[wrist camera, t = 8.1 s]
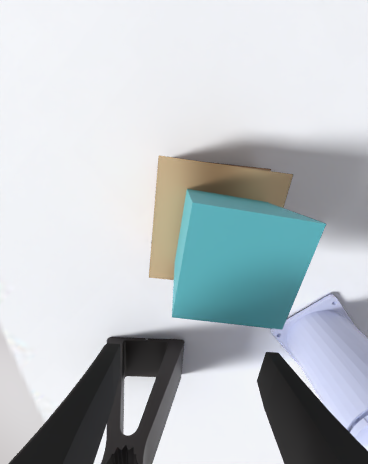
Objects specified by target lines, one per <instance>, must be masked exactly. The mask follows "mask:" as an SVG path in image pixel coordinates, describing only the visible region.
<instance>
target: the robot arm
mask: <svg viewBox="0 0 368 464" xmlns="http://www.w3.org/2000/svg"><path fill="white" fill-rule="evenodd" d="M271 333H272V334H273V336H274V337H275V338H276V339H277V340H278V341H279V342H280V344H281V345H282V346H283V347H284V348H285V349H286V351H287V352H288V353H289V354H290V355H291V356H292V357H293V359H294V360H295V361H296V362H297V363H298V364H299V365H300V367H301V368H302V370H303V372H304V373H305V375H306V377H307V378H308V380H309V382H310V383H311V385H312V387H313V388H314V390H315V391H316V393H317V395H318V396H319V398H320V400H321V401H322V402H321V401H320V400H319V399H318V398H317V397H316V396H315V395H314V393H313V392H312V391H311V390H310V389H309V388H308V387H307V386H306V384H305V383H304V382H303V381H302V380H301V379H300V377H299V376H298V375H297V374H296V373H295V372H294V371H293V369H292V368H291V367H290V366H289V365H288V364H287V362H286V361H285V360H284V359H283V358H282V357H281V356H280V354H279V353H274V352H266V354H265V357H264V360H263V364H262V367H261V370H260V373H259V376H258V379H257V383H258V387H259V391H260V395H261V398H262V402H263V405H264V409H265V412H266V414H267V417H268V420H269V423H270V426H271V428H272V431H273V434H274V437H275V439H276V442H277V445H278V447H279V450H280V453H281V456H282V458H283V461H284V464H368V338H367V337H366V336H365V335H364V334H363V333H362V332H361V331H360V330H359V329H357V328H356V326H355V325H354V323H353V322H352V320H351V319H350V317H349V316H348V314H347V313H346V311H345V310H344V308H343V306H342V305H341V303H340V302H339V300H338V299H337V297H335V296H334V295H332V294H330V295H328V296H326V297H324V298H323V299H321V300H319V301H318V302H316V303H314V304H312V305H311V306H309V307H307V308H306V309H304V310H302V311H301V312H299V313H297V314H295V315H294V316H292V317H290V318H289V319H287V320H286V322H285V324H284V327H283V329H282V330H281V329H271ZM119 378H120V344H111V343H107V344H106V345H105V346H104V347H103V349H102V350H101V352H100V353H99V354H98V356H97V357H96V359H95V360H94V362H93V363H92V364H91V366H90V367H89V369H88V370H87V371H86V373H85V374H84V375H83V377H82V378H81V379H80V380H79V382H78V383H77V384H76V386H75V387H74V388H73V389H72V391H71V392H70V393H69V395H68V396H67V397H66V398H65V400H64V401H63V402H62V403H61V404H60V406H59V407H58V408H57V409H56V410H55V412H54V413H53V414H52V415H51V416H50V418H49V419H48V420H47V421H46V422H45V424H44V425H43V426H42V427H41V428H40V429H39V430H38V432H37V433H36V434H35V435H34V436H33V437H32V438H31V440H30V441H29V442H28V443H27V444H26V445H25V446H24V447H23V449H22V450H21V451H20V452H19V453H18V454H17V455H16V456H15V457H14V458H13V460H11V462H10V463H9V464H93V463H94V460H95V457H96V454H97V451H98V448H99V445H100V442H101V439H102V436H103V433H104V430H105V427H106V424H107V421H108V418H109V415H110V412H111V409H112V406H113V402H114V399H115V395H116V391H117V387H118V382H119Z"/></svg>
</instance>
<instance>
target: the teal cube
mask: <svg viewBox="0 0 368 464" xmlns="http://www.w3.org/2000/svg"><path fill="white" fill-rule="evenodd" d="M325 226H326V224H325V223H322V222H320V221H317V220H314V219H312V218H309V217H306V216H303V215H301V214H298V213H295V212H292V211H290V210H287V209H284V208H282V207H279V206H276V205H273V204H271V203H268V202H264V201H258V200H252V199H246V198H240V197H234V196H228V195H222V194H216V193H210V192H204V191H198V190H192V189H187V191H186V197H185V203H184V209H183V215H182V221H181V227H180V233H179V239H178V245H177V251H176V257H175V265H174V286H173V308H172V317H174V318H183V319H192V320H201V321H210V322H219V323H228V324H236V325H245V326H254V327H263V328H272V329H281V330H282V329H283V327H284V324H285V322H286V319H287V317H288V315H289V312H290V310H291V307H292V305H293V303H294V300H295V298H296V295H297V293H298V291H299V288H300V286H301V283H302V281H303V279H304V276H305V274H306V271H307V269H308V267H309V264H310V262H311V259H312V257H313V255H314V252H315V250H316V247H317V245H318V243H319V240H320V238H321V235H322V233H323V231H324V228H325Z"/></svg>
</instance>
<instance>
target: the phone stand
mask: <svg viewBox="0 0 368 464" xmlns="http://www.w3.org/2000/svg"><path fill="white" fill-rule="evenodd" d="M107 343H111V344H120V378H119V382H118V387H117V391H116V395H115V399H114V402H113V406H112V409H111V412H110V415H109V418H108V421H107V440H106V448H105V452H104V456H103V460H102V463H101V464H152V463H153V460H154V457H155V454H156V451H157V448H158V445H159V442H160V439H161V436H162V433H163V430H164V427H165V424H166V421H167V418H168V415H169V412H170V409H171V406H172V403H173V400H174V397H175V394H176V391H177V388H178V385H179V382H180V379H181V371H182V361H183V350H184V341H183V340H179V339H150V338H148V339H147V340H146V339H145V338H122V337H110V338H108V339H107ZM126 376H145V377H156V380H155V383H154V385H153V388H152V391H151V394H150V397H149V399H148V402H147V405H146V408H145V410H144V413H143V416H142V419H141V421H140V424H139V427H138V429H137V431H136V432H135V433H134V434H132V435H130V436H126V435H124V434H123V421H124V378H125V377H126Z"/></svg>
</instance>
